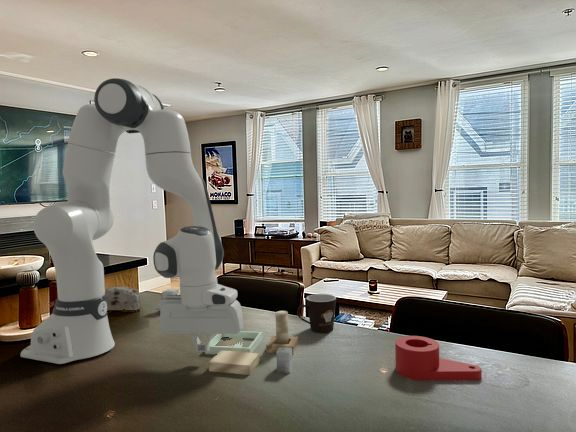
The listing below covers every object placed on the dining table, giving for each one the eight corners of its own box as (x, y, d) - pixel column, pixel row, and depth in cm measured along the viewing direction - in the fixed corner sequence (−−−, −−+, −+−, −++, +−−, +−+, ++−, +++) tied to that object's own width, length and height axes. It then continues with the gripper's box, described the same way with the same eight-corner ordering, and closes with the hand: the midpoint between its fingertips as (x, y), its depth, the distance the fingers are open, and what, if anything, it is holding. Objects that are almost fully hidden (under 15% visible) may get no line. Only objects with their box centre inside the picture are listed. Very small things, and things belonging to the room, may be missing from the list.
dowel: (275, 352, 108) (274, 314, 107) (278, 347, 111) (276, 310, 110) (287, 353, 107) (286, 314, 106) (290, 348, 110) (288, 311, 109)
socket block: (266, 355, 106) (266, 345, 106) (272, 344, 113) (272, 335, 113) (293, 356, 105) (293, 346, 105) (298, 345, 112) (298, 336, 111)
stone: (98, 312, 144) (103, 283, 144) (109, 308, 150) (114, 281, 149) (131, 322, 141) (137, 293, 141) (141, 318, 147) (146, 290, 146)
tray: (205, 355, 107) (204, 346, 106) (221, 339, 118) (221, 330, 118) (250, 358, 104) (250, 348, 104) (262, 340, 116) (262, 331, 116)
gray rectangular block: (277, 373, 95) (276, 352, 95) (279, 367, 98) (279, 347, 98) (289, 374, 95) (289, 352, 94) (292, 368, 98) (291, 347, 97)
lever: (394, 378, 92) (394, 349, 91) (396, 361, 100) (396, 334, 100) (484, 388, 86) (484, 357, 86) (478, 369, 95) (478, 340, 95)
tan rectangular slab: (209, 374, 97) (208, 362, 97) (221, 362, 104) (221, 350, 103) (250, 378, 94) (249, 365, 94) (259, 365, 101) (259, 353, 101)
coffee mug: (334, 326, 127) (333, 293, 126) (338, 336, 118) (338, 301, 117) (296, 327, 126) (295, 294, 126) (297, 337, 118) (296, 302, 117)
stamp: (169, 309, 149) (168, 286, 149) (186, 310, 147) (185, 287, 147) (155, 317, 141) (153, 292, 140) (172, 318, 139) (171, 293, 138)
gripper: (152, 298, 99) (156, 355, 100) (236, 297, 95) (239, 356, 96) (164, 291, 105) (168, 345, 106) (243, 290, 102) (246, 346, 103)
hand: (203, 350), depth 101 cm, fingers closed
